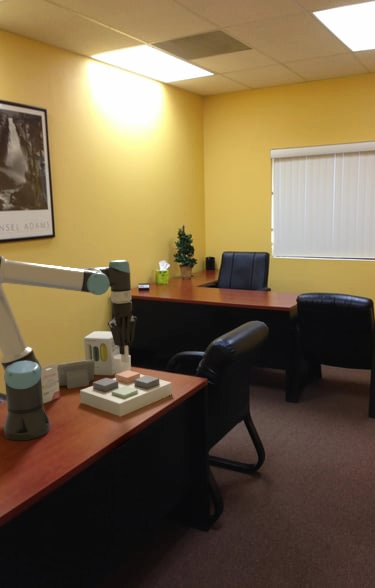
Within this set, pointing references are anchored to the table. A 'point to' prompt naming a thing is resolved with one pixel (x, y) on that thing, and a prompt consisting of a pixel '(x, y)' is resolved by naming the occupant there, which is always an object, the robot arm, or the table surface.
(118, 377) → the key terracotta
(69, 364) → the digital clock
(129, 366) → the white cup
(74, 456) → the table surface
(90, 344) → the supplement box
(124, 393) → the key green
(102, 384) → the charcoal key
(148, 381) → the charcoal key
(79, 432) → the table surface
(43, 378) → the ink cartridge box
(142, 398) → the keypad
